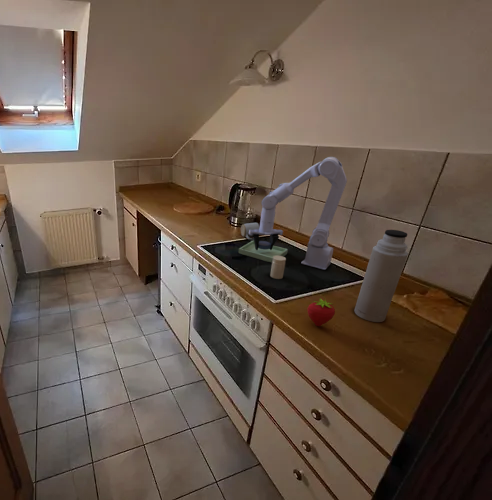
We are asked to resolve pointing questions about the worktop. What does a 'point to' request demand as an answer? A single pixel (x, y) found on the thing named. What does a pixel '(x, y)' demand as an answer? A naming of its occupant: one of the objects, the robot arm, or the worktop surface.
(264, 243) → the jar lid
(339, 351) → the worktop surface
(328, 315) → the strawberry
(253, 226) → the ceramic mug
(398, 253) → the thermos bottle
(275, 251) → the tray
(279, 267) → the jar
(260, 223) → the robot arm
